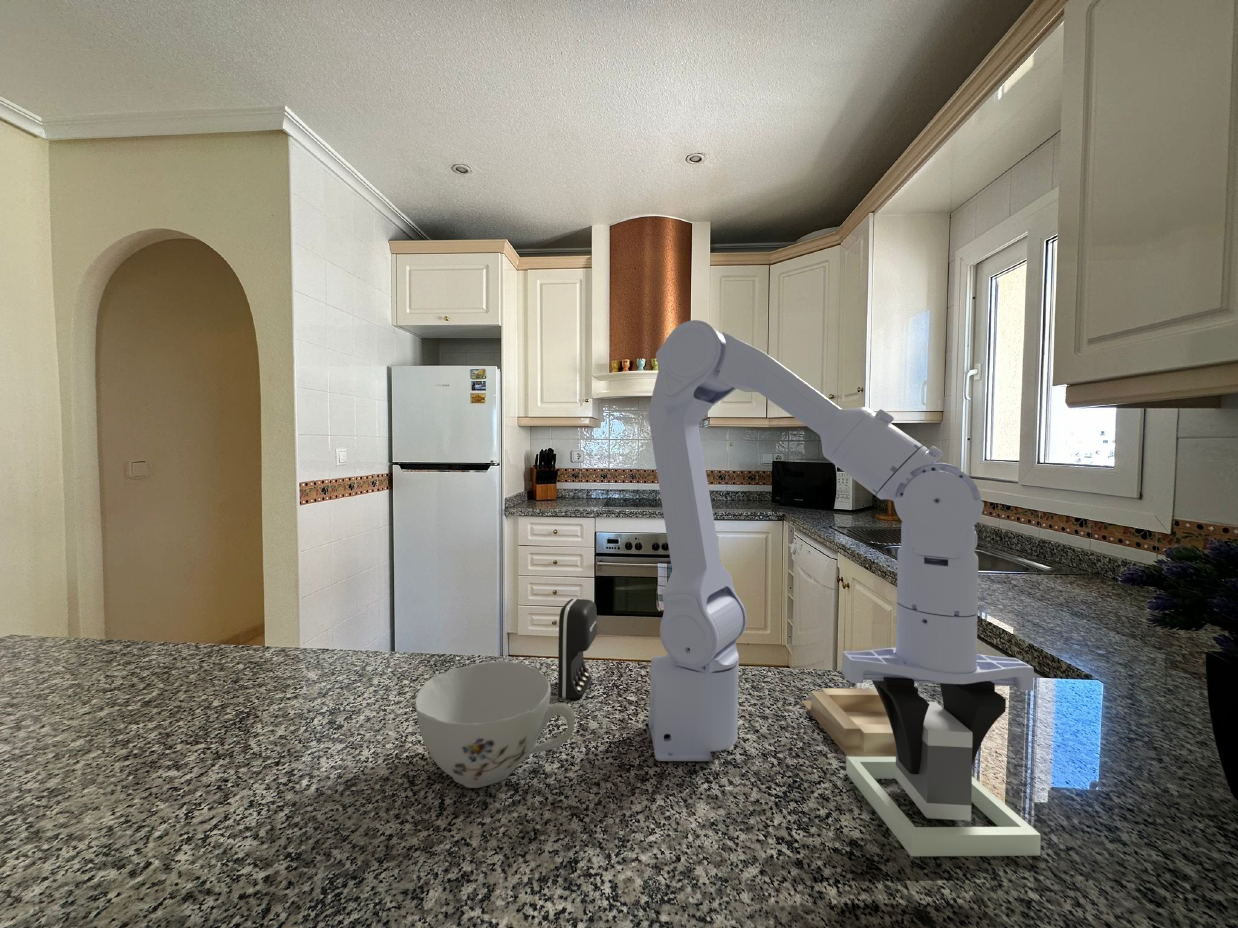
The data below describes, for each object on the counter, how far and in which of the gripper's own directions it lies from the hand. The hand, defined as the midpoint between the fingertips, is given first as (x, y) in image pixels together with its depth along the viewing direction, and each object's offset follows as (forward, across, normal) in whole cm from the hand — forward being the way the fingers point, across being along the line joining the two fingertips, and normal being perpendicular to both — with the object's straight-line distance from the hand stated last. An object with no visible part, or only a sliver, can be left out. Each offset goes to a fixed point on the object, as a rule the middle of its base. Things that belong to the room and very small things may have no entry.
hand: (932, 768), depth 42 cm
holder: (+4, -2, -13) cm, 14 cm away
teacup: (+5, +38, -4) cm, 39 cm away
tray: (+4, 0, 0) cm, 4 cm away
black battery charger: (+5, +33, -21) cm, 40 cm away
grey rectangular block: (+3, 0, 0) cm, 3 cm away
